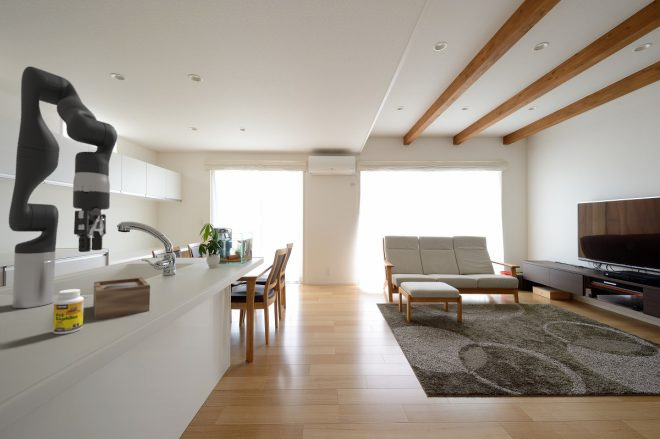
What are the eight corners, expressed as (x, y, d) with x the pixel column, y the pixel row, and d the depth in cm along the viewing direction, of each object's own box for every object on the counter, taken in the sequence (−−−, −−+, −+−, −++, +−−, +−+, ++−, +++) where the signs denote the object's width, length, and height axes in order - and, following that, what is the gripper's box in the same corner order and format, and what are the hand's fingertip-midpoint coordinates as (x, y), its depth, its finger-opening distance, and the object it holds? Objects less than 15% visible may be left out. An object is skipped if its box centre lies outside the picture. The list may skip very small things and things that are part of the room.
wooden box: (93, 306, 90) (94, 281, 90) (140, 299, 99) (141, 277, 99) (95, 319, 78) (96, 291, 78) (149, 310, 87) (150, 285, 87)
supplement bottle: (49, 337, 66) (51, 294, 66) (56, 329, 71) (57, 289, 71) (80, 332, 69) (82, 291, 69) (84, 325, 74) (86, 287, 74)
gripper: (85, 194, 80) (84, 250, 79) (61, 186, 67) (59, 253, 66) (116, 195, 83) (116, 249, 82) (99, 187, 70) (98, 251, 69)
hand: (91, 251), depth 74 cm, fingers open, 8 cm apart
